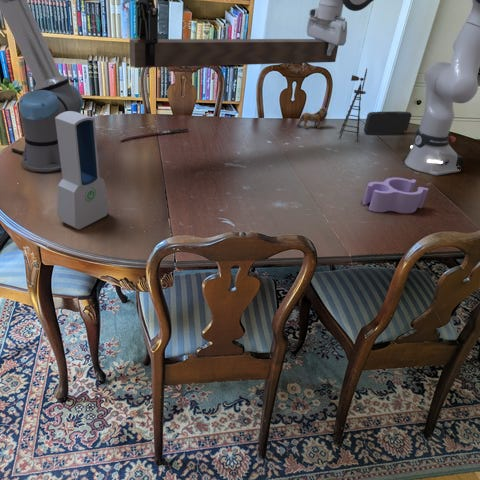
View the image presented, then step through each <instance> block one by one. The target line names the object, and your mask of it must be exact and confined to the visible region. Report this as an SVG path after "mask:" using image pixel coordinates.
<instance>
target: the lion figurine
mask: <svg viewBox="0 0 480 480" xmlns="http://www.w3.org/2000/svg"><path fill="white" fill-rule="evenodd" d="M327 115H328V108H326V107H321V108H319V110H318V111H316V112H315V113H310V112H304V113H302V114H301V115H300V117H299V119H298V123H297V124H296V127H301V126H302V125H301V123H302V122H303V126H304V128H305V129H309V127H308V126H307V124H308V121H309V122H311V123H313V126H314V128H315V127H316V128H317V129H318V130H319V129H321V127H320V125H321V122H323V121H324V120H325V119H326V117H327Z"/></svg>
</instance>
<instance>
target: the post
mask: <svg viewBox="0 0 480 480" xmlns="http://www.w3.org/2000/svg"><path fill="white" fill-rule="evenodd" d="M145 42H147V39H139V38H130V39H129V64H130V65H131V66H132V67H133V68H135V69H139V68H140V69H141V68H142V69H143V68H175V67H176V68H177V67H179V68H180V67H210V66H212V67H213V66H214V67H215V66H243V65H245V66H247V65H249V66H250V65H281V64H315V63H317V64H318V63H319V64H320V63H336V61H337V56H338V55H337V54H338V49H339V46H337V45H335V47H334V49H333V50H332V52H331V55H330V56H328V55H325V53H326V50H328V48H329V46H328V44H329V43H328V42H325V41H322V40H319V39H315V38H158V43H156V44H155V66H146V44H145Z"/></svg>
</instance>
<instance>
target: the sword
mask: <svg viewBox="0 0 480 480" xmlns="http://www.w3.org/2000/svg"><path fill="white" fill-rule="evenodd" d="M183 131H189V129H188V128H178V129H168V130H163V131H159V132H151V133H145V134H138V135H134V136H130V137H125V138H123V139H121V140H120V142H126V141H129V140H134V139H139V138H144V137H151V136H156V135H163V134H173V133H177V132H183Z"/></svg>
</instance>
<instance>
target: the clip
mask: <svg viewBox="0 0 480 480" xmlns="http://www.w3.org/2000/svg"><path fill="white" fill-rule="evenodd" d="M416 183H417V180H416V179H415V178H412V179H407V178H404V177H388V178H386V179H385V180H383V181H371V182H368V183H367V186H366V190H365V193H364V197H363V201H362V205H364V206H367V205H368V204H369V207H368V210H369V211H371V212H373V213H374V212H375V213H385V212H395V213H399V214H413V213H414V212H416V211H417V209H422V208H423V206H424V203H425V201H426V198H427V195H428V193H429V188H427V187H423V186H418V187H417V189H416V191H414V190H415V187H416Z"/></svg>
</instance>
